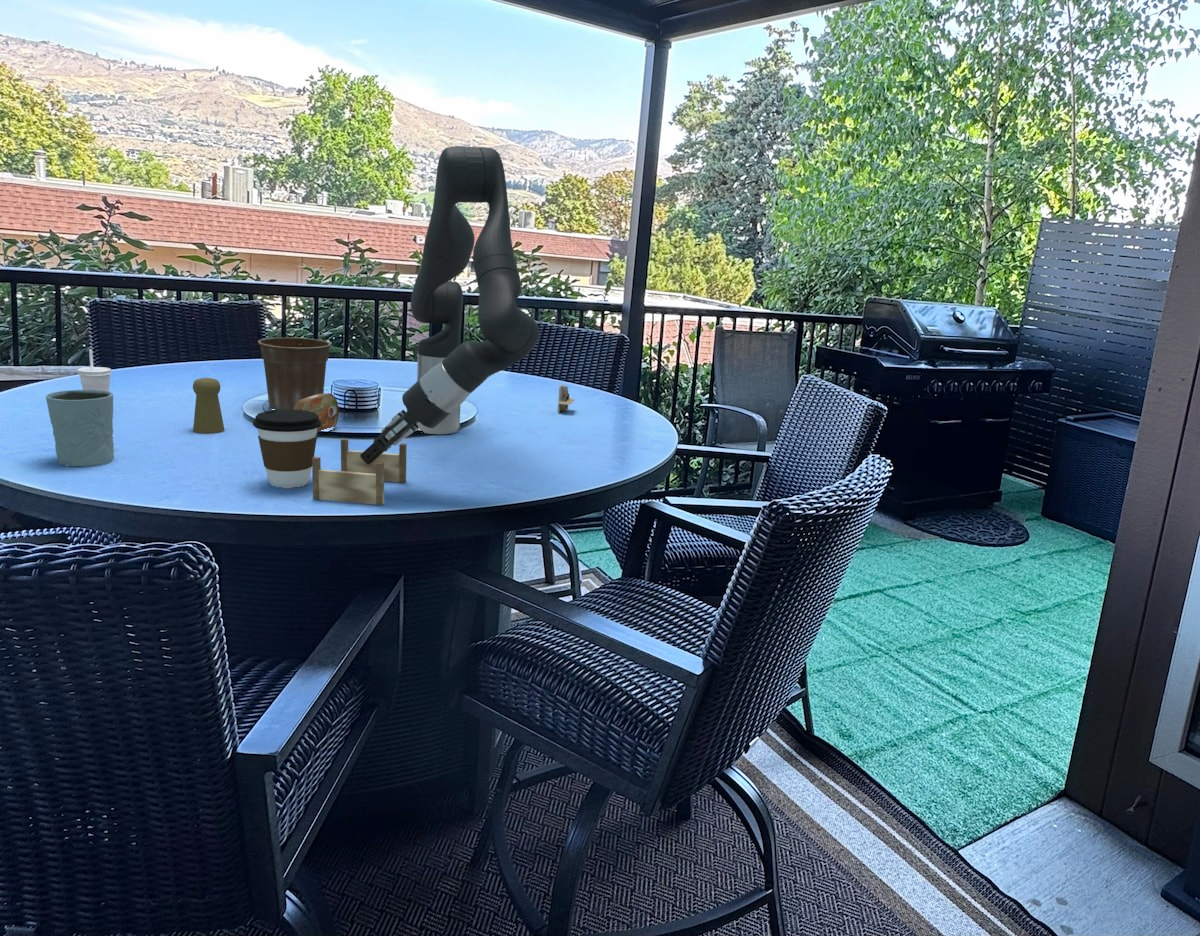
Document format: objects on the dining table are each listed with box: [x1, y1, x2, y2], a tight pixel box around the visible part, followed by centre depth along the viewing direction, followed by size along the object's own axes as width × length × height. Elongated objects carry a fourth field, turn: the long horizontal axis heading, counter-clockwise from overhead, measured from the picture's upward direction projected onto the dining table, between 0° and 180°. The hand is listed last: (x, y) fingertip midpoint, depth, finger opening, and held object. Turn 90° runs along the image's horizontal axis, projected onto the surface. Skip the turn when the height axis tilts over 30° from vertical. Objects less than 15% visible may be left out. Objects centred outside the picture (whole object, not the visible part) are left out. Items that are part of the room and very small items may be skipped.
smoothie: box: [77, 348, 113, 392], centre depth 183 cm, size 6×6×14 cm
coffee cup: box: [252, 409, 321, 489], centre depth 144 cm, size 11×11×12 cm
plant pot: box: [257, 337, 332, 410], centre depth 201 cm, size 16×16×16 cm
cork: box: [192, 377, 225, 435], centre depth 176 cm, size 6×6×11 cm
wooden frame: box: [311, 438, 408, 506], centre depth 144 cm, size 12×14×7 cm
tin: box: [293, 393, 340, 434], centre depth 180 cm, size 15×3×8 cm, turn 168°
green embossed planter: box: [45, 389, 115, 467], centre depth 149 cm, size 10×10×12 cm
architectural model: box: [557, 383, 575, 415], centre depth 221 cm, size 3×7×7 cm, turn 174°
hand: (365, 459), depth 143 cm, fingers closed
